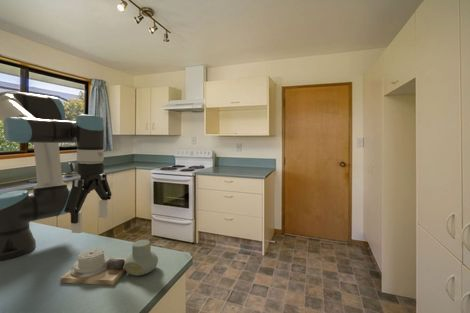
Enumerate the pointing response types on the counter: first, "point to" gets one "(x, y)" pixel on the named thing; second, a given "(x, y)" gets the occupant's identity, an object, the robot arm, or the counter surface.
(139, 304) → the counter surface
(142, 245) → the grey rounded piece
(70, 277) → the flange board
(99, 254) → the mechanical component
